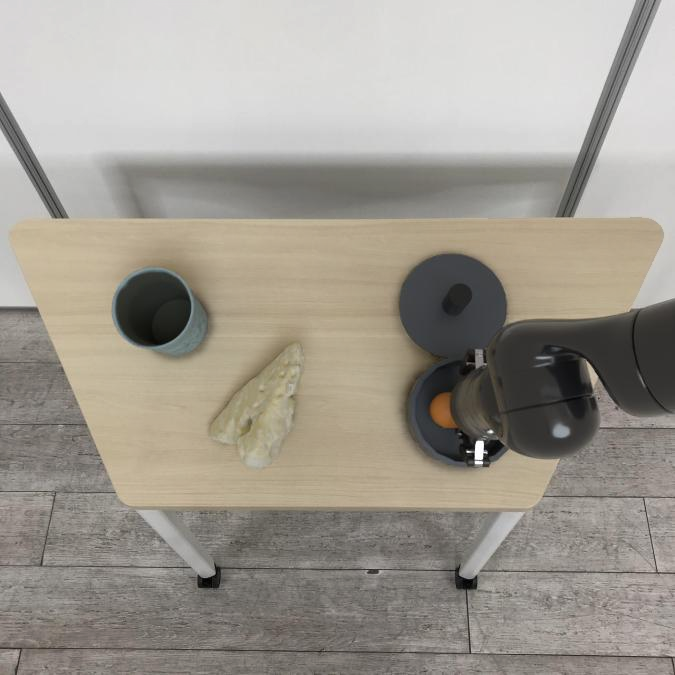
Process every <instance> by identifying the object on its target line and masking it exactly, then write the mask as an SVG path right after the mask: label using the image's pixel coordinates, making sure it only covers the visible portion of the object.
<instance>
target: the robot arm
mask: <svg viewBox="0 0 675 675" xmlns="http://www.w3.org/2000/svg"><path fill="white" fill-rule="evenodd" d="M588 364H589V365H590V367H591V368H592V369H593V371H594V372H595V374H596V376H597V378H598V379H599V381H600V382H601V384H602V386H603V388H604V390H605V391H606V393H607V394H608V396H609V397H610V399H611V400H612V401H613V403H614V404H615V405H616V406H617V407H618V408H619V409H620V410H622V411H623V412H624V413H625V414H628V415H630V416H632V417H635V418H642V419H643V418H644V419H645V418H658V417H665V416H673V415H675V297H673V298H671V299H666V300H664V301H661V302H657V303H654V304H651V305H647V306H645V307H641V308H638V309H633V310H630V311H626V312H622V313H616V314H612V315H606V316H605V315H604V316H596V317H587V318H586V317H585V318H583V317H582V318H544V317H543V318H527V319H526V318H525V319H521V320H517V321H513V322H510V323H507V324H506V325H504V326H503V328H501V329H500V330H499V331H498V332H496V334H495V335H494V336H493V337H492V339H491V340H490V342H489V344H488V346H487V348H486V349H467V351H466V354H465V356H464V359H463V361H462V364H461V366H460V368H459V372H460V375H464V377H463V378H461V379H460V380H459V381H458V382H457V384H456V385H455V386H454V388H453V390H452V393H451V396H450V412H451V415H452V418H453V420H454V422H455V424H456V425H457V426H458V428H455V433H456V434H458V438H459V439H463V444H462V443H460V446H459V452H460V454H461V456H462V458H463V460H464V462H465V464H466V466H468V467H467V468H470V467H478V468H490V465H491V463H490V459H489V456H488V455H487V453H488V451H487V450H484V445H486V444H488V443H489V441H490V440H500V441H501V442H502V443H503V444H504V445H505V446H506V447H507V448H509V450H510V451H512V452H514V453H515V454H518V455H520V456H524V457H526V458H532V459H537V460H547V461H548V460H560V459H561V460H562V459H565V458H570V457H572V456H575V455H578V454H580V453H582V452H583V451H585V450H587V448H589V446H591V444H592V443H593V442H595V440H596V438H597V436H598V434H599V431H600V427H601V412H600V407H599V404H598V400H597V397H596V395H594V394H595V389H594V386H593V383H592V379H591V375H590V370H589V368H588Z"/></svg>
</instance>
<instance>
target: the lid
mask: <svg viewBox="0 0 675 675" xmlns="http://www.w3.org/2000/svg"><path fill="white" fill-rule="evenodd" d="M398 308H399V309H398V310H399V316H400V320H401V324H402V326H403V328H404V330H405V332H406V333H407V335H408V336H409V338H410V339H411V340H412V341H413V343H415V344H416V345H417V346H418V347H420V348H421V349H422V350H423V351H426V352H427V353H429V354H431V355H433V356H436V357H438V358H439V357H440V358H443V359H446V358H449V357H452V356H455V355H464V356H465V354H466V351H467V349H487V346H488V344H489V342H490V340H491V339H492V337H493V336H494V335H495V334H496V332H498V331H499V330H500V329H501V328H503V327H504V326H505V324H506V323H505V322H506V319H507V314H508V302H507V296H506V291H505V289H504V286H503V284H502V283H501V281H500V279H499V278H498V276H497V275H496V273H495V272H494V271H493V270H492V269H491V268H490V267H489V266H488V265H486V264H485V263H484V262H482V261H481V260H478V259H476V258H474V257H472V256H468V255H466V254H465V255H464V254H460V253H443V254H439V255H435V256H432V257H430V258H427V259H425V260H424V261H422V262H420V263H419V264H418V265H416V266H415V267H414V268H413V269H412V270H411V272H410V273H409V274H408V275H407V277H406V279H405V281H404V282H403V284H402V287H401V290H400V294H399V301H398Z"/></svg>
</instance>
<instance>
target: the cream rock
mask: <svg viewBox="0 0 675 675" xmlns="http://www.w3.org/2000/svg"><path fill="white" fill-rule="evenodd" d="M304 352H305V349H304V348H303V345H302V344H301V342H299V341H294V342H293V343H291V344H289V345H288V346H286V347H285V348H284V350H283V351H282V352H281V353H280V354H278V356H276V358H275V359H274V360H272V362H270V363H269V364H268V365H267V366H266V367H265V368H263V370H261V372H260V373H259V375H257V376H255V377H253V378H252V379H250V380H249V381H248V382H247V383H246V384H244V386H242V387H241V388H240V389H239V390H238V391H237V392H235V394H234V395H233V396H232V397H231V399H230V400H229V403H228V404H227V406H226V407H225V408H223V410H222V411H221V412H220V413H219V414H218V415H217V417H216V418H215V419H214V421H213V422H212V423H211V425H210V427H209V431H208V434H207V436H208V437H209V438H210V439H212V440H213V441H216V442H219V443H223V444H226V445H229V446H230V445H235V448H236V453H237V457H238V459H239V460H240V462H241V463H242V465H244V466H246V467H248V468H251V469H259V468H261V469H263V468H265V467H267V466H270V465H271V464H272V463H273V462H274V461H275V460H276V459H277V458H278V457H279V455H280V453H281V448H282V442H283V441H284V440H285V438H286V437H287V436H288V435H289V434H290V432H291V431H292V428H293V427H294V426H295V425H296V421H295V420H294V418H293V417H294V412H295V410H296V405H297V404H296V400H295V399H294V398H293V397H292V396H293V395H295V394H296V393H297V391H298V390H299V387H300V382H301V381H300V380H301V377H302V375H303V373H304V370H305V363H306V355H305V353H304Z"/></svg>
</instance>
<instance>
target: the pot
mask: <svg viewBox="0 0 675 675" xmlns="http://www.w3.org/2000/svg"><path fill="white" fill-rule="evenodd" d="M463 359H464V355H455V356H452V357H449V358H443V359H441V360H438V361H436V362H434V363H433V364H432V365H431V366H430V367H429V368H428V369H427V370H425V371H424V373H422V374H421V375H420V376H419V377H418V378H417V379H416V380H415V381H414V384H413V385H412V388H411V390H410V392H409V394H408V396H407V399H406V409H405V411H406V412H405V413H406V414H405V415H406V416H405V417H406V424H407V427H408V429H409V432H410V434H411V438H412V439H413V442H414V443H415V444H416V445H417V446H418V447H419V448H420V449H421V450H422V452H424V453H425V454H426V455H427V456H428V457H429V458H431V459H433V460H436V462H438V463H439V462H440V463H442V464H444V465H446V466H449V467H450V466H451V467H454V468H472V469H476V468H479V467H468V466H466V464H465V462H464V460H463V458H462V456H461V454H460V452H459V446H460V443H462V444H463V439H459V438H458V434H456V433H455V429H454V428H441V426H439V425H438V424H436V423H435V422H434V421H433V419H432V417H431V415H430V405H431V402H432V400H433V399H434V398H435V397H436V396H437V395H439V394H442V393H444V392H451V393H452V390H453V388H454V386H455V385H456V384H457V382H458V381H459V380H460V379H461V378H463V377H464V375H460V372H459V368H460V366H461V364H462V361H463ZM484 450H487V451H488V453H487V455H488V456H489V459H490V464H491V463H494V462H496V461H499V460H500V459H501V458H502V457H503V456H504V455H505V454H506V453H507V452H508V451H509V450H510V449H509V448H507V447H506V446H505V445H504V444H503V443H502V442H501V441H500V440H490V441H489V443H488V444H486V445H484Z"/></svg>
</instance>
